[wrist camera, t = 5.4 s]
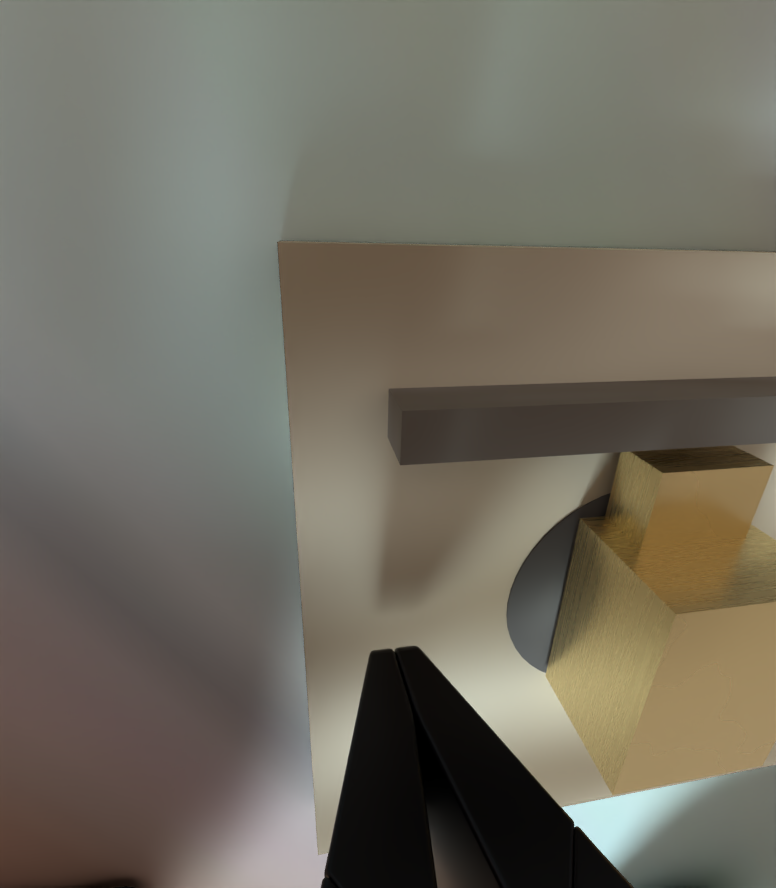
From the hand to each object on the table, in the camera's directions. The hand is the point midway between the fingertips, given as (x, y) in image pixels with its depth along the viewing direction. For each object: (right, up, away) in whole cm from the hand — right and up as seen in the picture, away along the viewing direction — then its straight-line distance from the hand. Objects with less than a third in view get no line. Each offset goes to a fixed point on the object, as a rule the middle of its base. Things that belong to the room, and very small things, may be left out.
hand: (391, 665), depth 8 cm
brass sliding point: (+5, +1, +1) cm, 5 cm away
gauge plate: (+7, +1, +3) cm, 8 cm away
